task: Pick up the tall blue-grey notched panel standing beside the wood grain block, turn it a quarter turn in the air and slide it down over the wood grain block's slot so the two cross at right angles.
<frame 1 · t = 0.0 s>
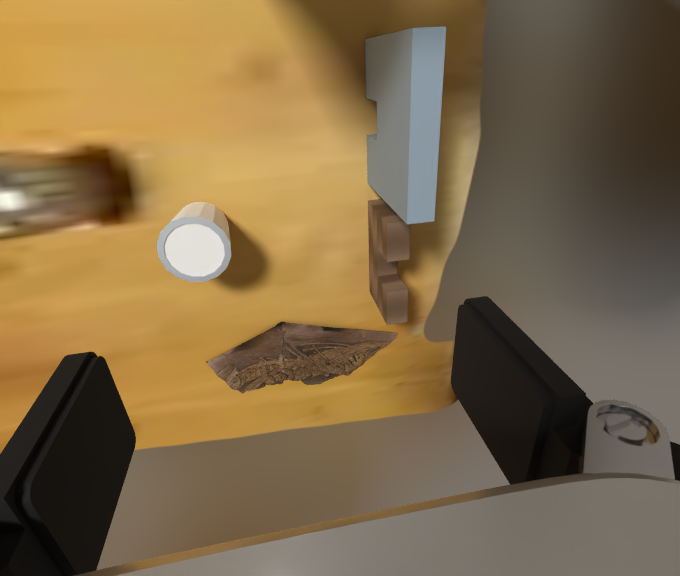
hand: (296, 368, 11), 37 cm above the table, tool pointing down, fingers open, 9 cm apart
blue-grey notched panel: (377, 116, 44), on the table
white topped beige cylinder: (202, 225, 46), on the table
wooden fragment: (305, 350, 57), on the table
wood grain block: (378, 247, 51), on the table
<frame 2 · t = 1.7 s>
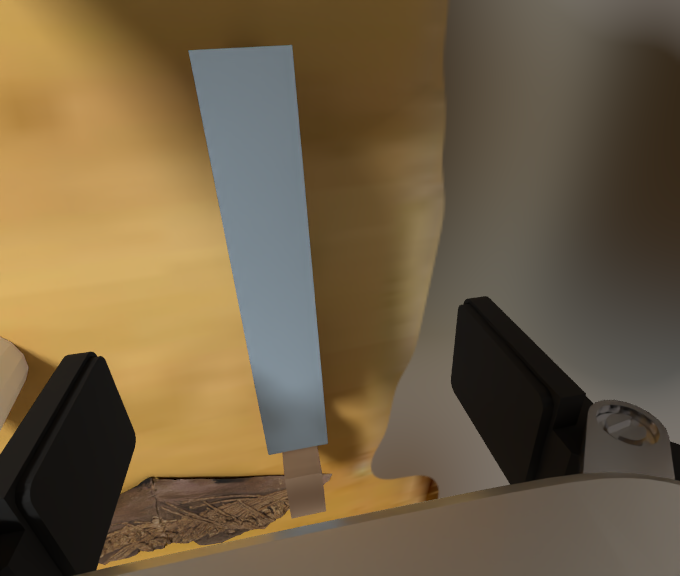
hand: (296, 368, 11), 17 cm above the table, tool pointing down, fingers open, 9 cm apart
blue-grey notched panel: (263, 184, 25), on the table
wooden fragment: (195, 503, 39), on the table
wood grain block: (289, 372, 33), on the table
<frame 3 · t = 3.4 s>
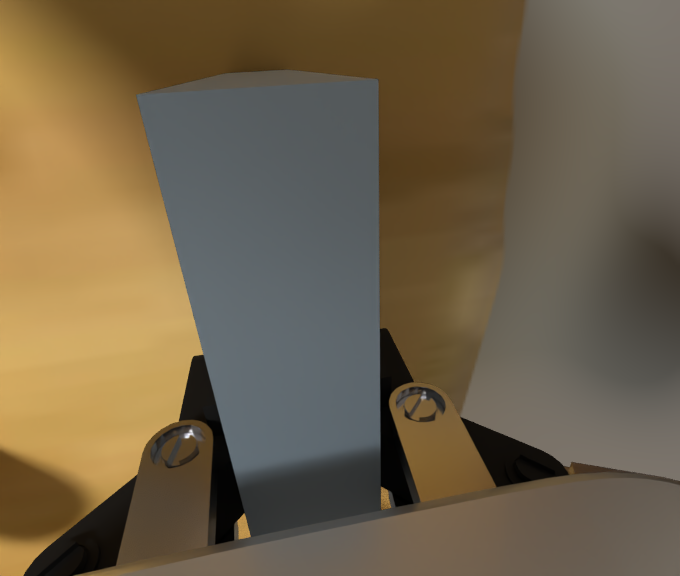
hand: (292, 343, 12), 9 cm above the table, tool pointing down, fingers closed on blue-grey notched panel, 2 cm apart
blue-grey notched panel: (278, 237, 20), on the table, touching gripper
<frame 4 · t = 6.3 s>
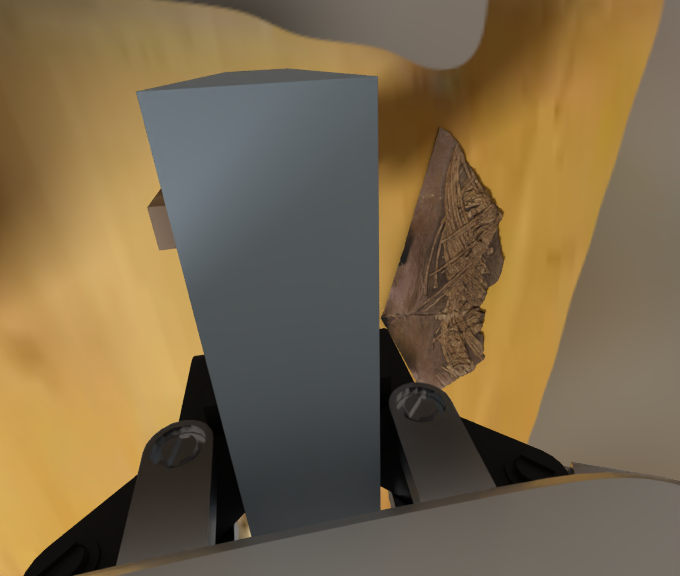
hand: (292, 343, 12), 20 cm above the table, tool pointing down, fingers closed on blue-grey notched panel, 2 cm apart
blue-grey notched panel: (278, 236, 20), point 12 cm above the table, touching gripper
wooden fragment: (438, 279, 37), on the table
wood grain block: (263, 182, 30), on the table
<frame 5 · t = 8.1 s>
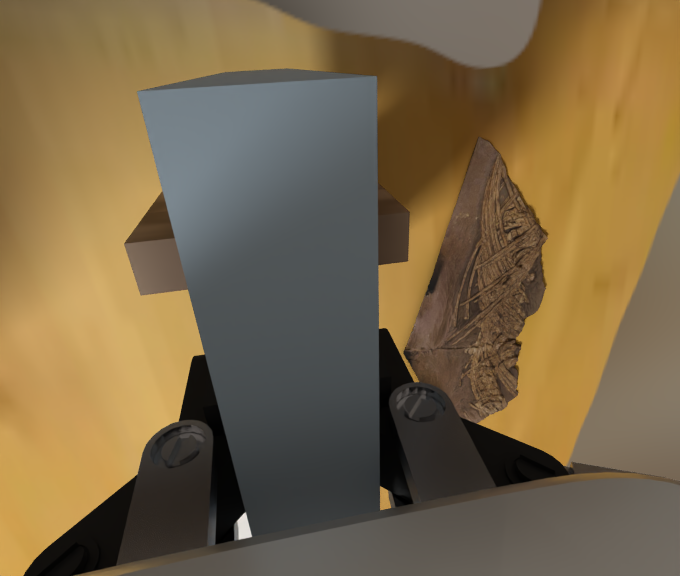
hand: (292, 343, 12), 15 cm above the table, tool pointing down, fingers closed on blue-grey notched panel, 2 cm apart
blue-grey notched panel: (278, 236, 20), point 6 cm above the table, touching gripper
wooden fragment: (469, 309, 32), on the table
wood grain block: (270, 201, 25), on the table
when the fingers open (9 cm above the table, at t = 9.5 s): blue-grey notched panel stays where it is, on the table.
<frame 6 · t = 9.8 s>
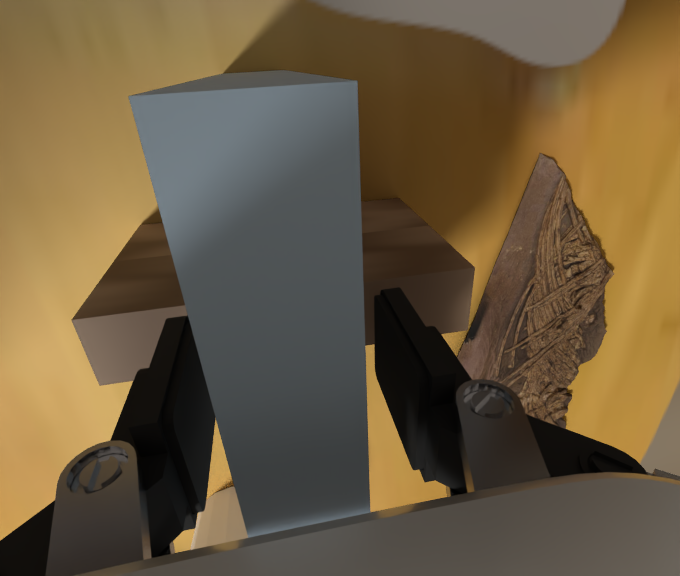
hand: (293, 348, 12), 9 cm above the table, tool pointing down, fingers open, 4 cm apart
blue-grey notched panel: (275, 235, 20), on the table
white topped beige cylinder: (241, 509, 29), on the table
wooden fragment: (513, 354, 27), on the table
wood grain block: (278, 235, 20), on the table
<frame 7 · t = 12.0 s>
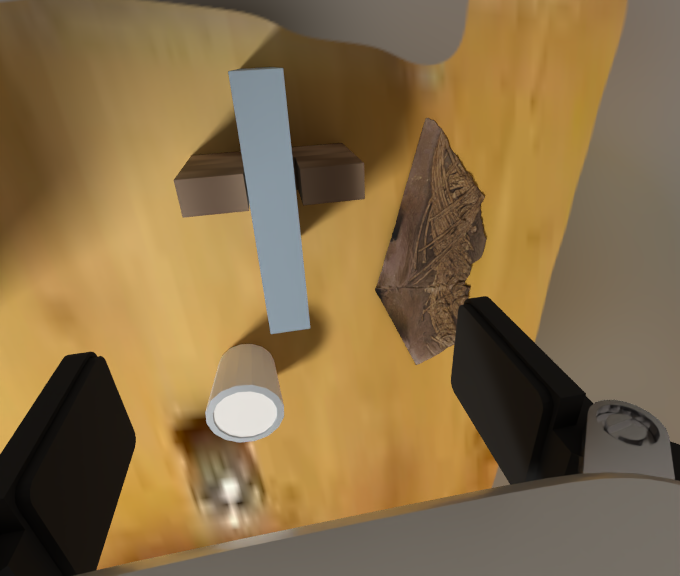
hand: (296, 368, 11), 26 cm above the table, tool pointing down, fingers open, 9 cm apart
blue-grey notched panel: (268, 164, 34), on the table
white topped beige cylinder: (247, 364, 43), on the table
wooden fragment: (427, 255, 41), on the table
wood grain block: (270, 164, 34), on the table
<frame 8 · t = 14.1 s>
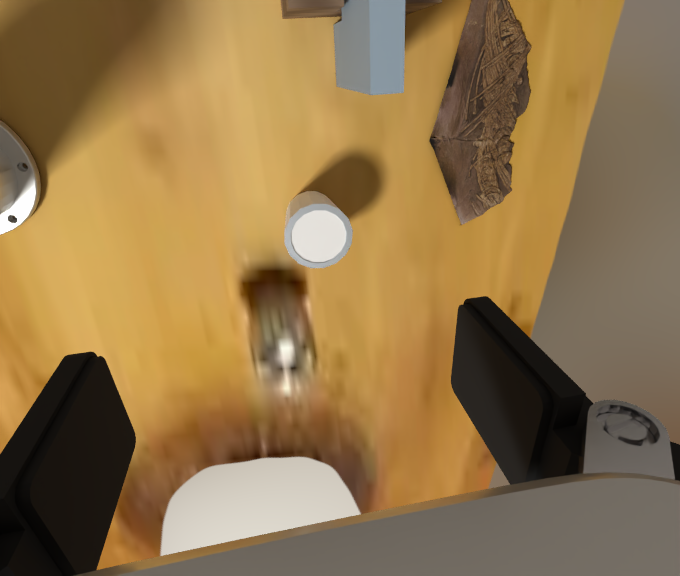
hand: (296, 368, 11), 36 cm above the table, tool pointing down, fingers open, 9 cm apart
blue-grey notched panel: (345, 1, 38), on the table
white topped beige cylinder: (310, 214, 47), on the table
wooden fragment: (476, 109, 45), on the table
wood grain block: (346, 0, 38), on the table
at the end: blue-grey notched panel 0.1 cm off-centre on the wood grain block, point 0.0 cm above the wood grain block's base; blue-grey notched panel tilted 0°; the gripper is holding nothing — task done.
